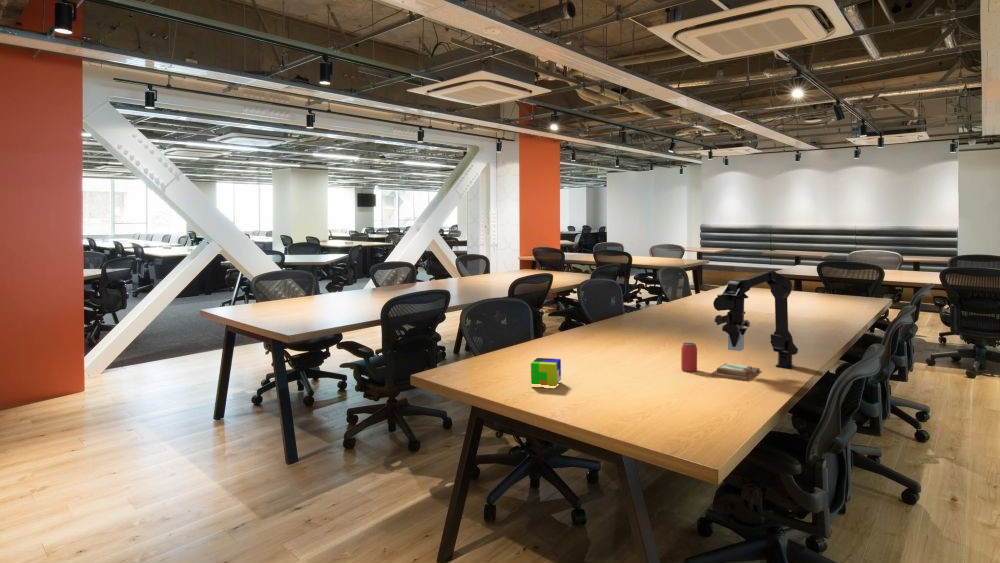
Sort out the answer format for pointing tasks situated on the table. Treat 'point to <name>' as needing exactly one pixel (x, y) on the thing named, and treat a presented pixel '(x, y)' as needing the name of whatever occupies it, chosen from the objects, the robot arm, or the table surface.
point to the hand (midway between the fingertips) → (735, 345)
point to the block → (738, 346)
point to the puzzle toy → (546, 371)
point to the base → (735, 371)
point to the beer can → (689, 357)
